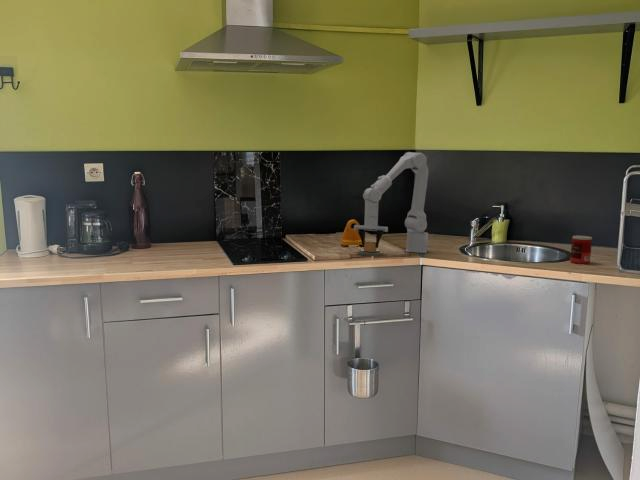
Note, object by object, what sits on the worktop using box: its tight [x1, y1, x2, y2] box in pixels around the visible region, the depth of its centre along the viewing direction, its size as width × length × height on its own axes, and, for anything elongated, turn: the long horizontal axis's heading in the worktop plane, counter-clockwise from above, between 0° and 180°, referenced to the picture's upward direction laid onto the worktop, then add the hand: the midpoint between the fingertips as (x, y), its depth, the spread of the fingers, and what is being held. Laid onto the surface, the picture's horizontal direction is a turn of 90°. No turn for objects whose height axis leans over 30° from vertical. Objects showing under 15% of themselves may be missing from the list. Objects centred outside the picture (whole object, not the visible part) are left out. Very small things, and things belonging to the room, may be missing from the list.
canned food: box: [569, 235, 593, 265], centre depth 257 cm, size 8×8×11 cm
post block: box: [357, 241, 382, 257], centre depth 267 cm, size 9×9×5 cm
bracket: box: [340, 219, 367, 246], centre depth 287 cm, size 11×7×12 cm, turn 95°
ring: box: [363, 241, 378, 252], centre depth 267 cm, size 5×5×4 cm
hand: (370, 247), depth 267 cm, fingers closed on ring, 5 cm apart
